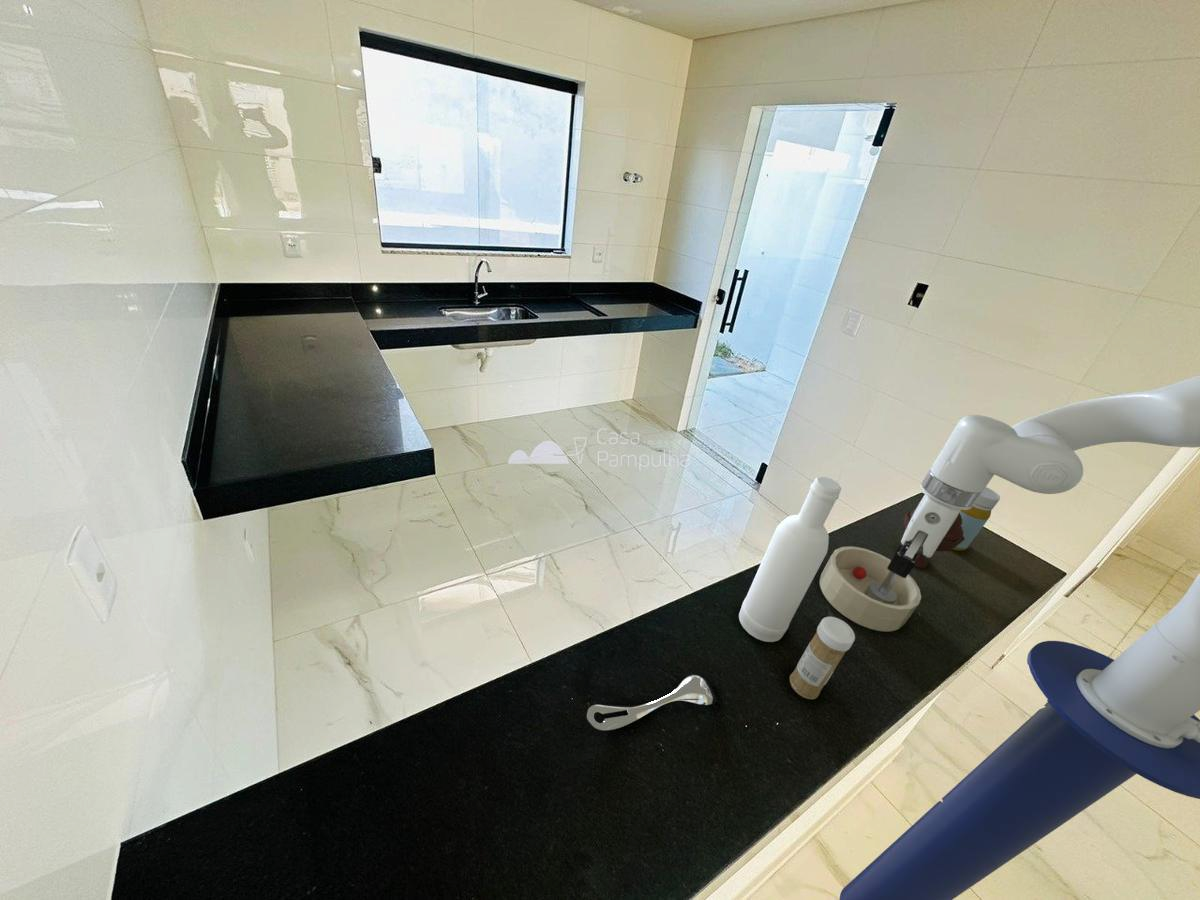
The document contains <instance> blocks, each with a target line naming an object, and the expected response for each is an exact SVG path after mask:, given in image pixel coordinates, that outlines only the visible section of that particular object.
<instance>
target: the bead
mask: <svg viewBox="0 0 1200 900" xmlns="http://www.w3.org/2000/svg"><path fill="white" fill-rule="evenodd" d="M853 575H854V576H855V577H856V578H858V579H864V578H865V577H866V575H867V572H866V570H865V569H864V568H862V567H856V568H855V569H854V570H853Z"/></svg>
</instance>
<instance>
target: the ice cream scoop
mask: <svg viewBox="0 0 1200 900" xmlns="http://www.w3.org/2000/svg"><path fill="white" fill-rule="evenodd" d="M716 696H717V695H716V694H715V692H714V690H713V688H712V686H711V685H710V683H709V681H708V680H707V679H706V678H705V677H704V676H702V674H699V673H690V674H688V675H686V676H685V677H684V678H683V680H682V681H681V682H680V683H679V684H678V686H677V687H676V688H675V689H674V690H673V691H672V692H671V693H669V694H667V695H665V696H663V697H661V698H659V699H657V700H654V701H651V702H648V703H647V702H646V703H642V704H635V705H614V704H593V705H591V706H590V707H589V708H588V709H587V711H586V715H585V719H586V721H587V723H588V724H589V725H590V726H591V727H592V728H593V729H595V730H596V731H601V732H602V731H603V732H605V731H612V730H616V729H620V728H623V727H625V726H628V725H629V724H632V723H633V722H635V721H638V720H639V719H641V718H643V717H645V716H646V715H648V714H649V713H651V712H653V711H654V710H657V709H658V708H660V707H661V706H663V705H666V704H669V703H671V702H677V701H678V702H679V701H683V702H689V703H693V704H697V705H702V706H703V705H704V706H709V705H713V704H716V703H717V697H716ZM621 712H626V713H627V714H626V715H620V716H619V715H618V716H613V717H608V718H604V719H603V721H602V722H598V721H596V719H595V714H597V713H598V714H601V715H608V714H615V713H621Z"/></svg>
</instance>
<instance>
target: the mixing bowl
mask: <svg viewBox="0 0 1200 900" xmlns="http://www.w3.org/2000/svg"><path fill="white" fill-rule="evenodd" d="M891 560H892V559H890V558H888V557H886V556H884V555H882V554H880V553H878V552H875V551H872V550H871V549H867V548H864V547H859V546H841V547H839V548H836V549H835V550H834V551H833V552H832V553H831V555H830V557H829V559H828V561H827V563H826V565H825V566H824V567H823V570H822V572H821V574H820V577H819V587H820V590H821V592H822V594H823V596H824V597H825V599H826V600H827V602H828V603H829V604H830V605H831V606H832V608H834V609H835V610H836V611H837V612H839V613H840V614H841V615H842V616H844V617H846V619H849V620H850V621H852V622H853V623H855V624H857V625H859V626H862V627H863V628H864V627H865V628H867V629H870V630H874V631H877V632H895V631H897V630H899V629H901V628H902V627H903V626H904V625H905V624H906V623H907V621H909V619H910V617H911V616H912V614H913V613H914V612H915V610H916V609H917V608H918V607H919V605H920V603H921V600H922V594H921V590H920V587H919V585H918V584H917V582H916V581H915V579H914V578H913V577H912V576H911V575H910V573H909V574H908V576H907V577H906V578H903V577H901V576H899V577H898V579H897V580H896V582H895V583H894V585H893V586H892V588H891V589H893V590H894V592H895V593H896V595H897V599H896V601H895V602H894V604H893V605H890V604H885V603H882V602H880V601H877V600H874V599H872V598H870V597H868V596H867V595H866V593H865V592H866V590H867V588H868V586H869V585H870V583H871V582H881V583H883V581H884V580H885V578H886V577H887V575H888V574H889V572H890V570H888V569H887V567H888V565H889V564H890V562H891ZM856 567H862V568H864V569H865V570H866V572H867V575H866V577H865V578H864V579H858V578H856V577H855V576H854V575H853V570H854V569H855V568H856Z"/></svg>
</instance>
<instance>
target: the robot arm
mask: <svg viewBox="0 0 1200 900" xmlns="http://www.w3.org/2000/svg"><path fill="white" fill-rule="evenodd" d="M1111 443H1144V444H1151V445H1152V444H1153V445H1158V446H1166V447H1175V448H1176V447H1177V448H1200V374H1199V375H1196V376H1192V377H1189V378H1186V379H1183V380H1181V381H1178V382H1175V383H1171V384H1168V385H1165V386H1162V387H1159V388H1155V389H1149V390H1142V391H1141V390H1140V391H1133V392H1127V393H1122V394H1115V395H1111V396H1102V397H1097V398H1091V399H1086V400H1080V401H1077V402H1073V403H1070V404H1066V405H1062V406H1060V407H1059V406H1058V407H1056V408H1053V409H1050V410H1048V411H1044V412H1042V413H1039V414H1036V415H1034V416H1031V417H1029V418H1026V419H1023V420H1021V421H1019V422H1018V423H1015V424H1013V425H1012V426H1011V425H1009V424H1007V423H1005V422H1003V421H1001V420H999V419H996V418H994V417H989V416H986V415H981V414H969V415H965V416H964V417H962V418H961V419H960V420H959V421H958V422H957V424H956V425H955V427H954V428H953V430H952V432H951V434H950V435H949V437H948V439H947V440H946V442H945V443H944V446H943V447H942V448H941V450H940V452H939V453H938V455H937V456H936V459H935V460H934V462H933V463H932V465H931V467H930V469H929V470H928V472H927V473H926V476H925V477H924V479H923V480H922V482H921V483H920V486H919V488H920V490H921V492H923V493H924V495H923V497H922V498H921V500H920V501H919V503H918V504H917V506H916V510H915V512H914V514H913V516H912V518H911V520H910V522H909V524H908V526H907V528H905V530H904V532H903V535H902V538H901V540H900V543H901V544H902V545H899V547H898V548H897V550H896V551H895V553H894V555H893V557H892V558H891V559H890V560H891V562H890V564H889V565H888V567H887V569H888V570H890V571H891V572H893V573H895V574H897V575H899V576H901V577H903V578H906V577H907V576H908V574H909V575H910V573H911V572H912V570H913V568H914V567H915V566H914V565H915V564H916V562H917V561H916V560H917V559H918V557H919V555H920V554H921V552H922V551H923V553H922V555H923V556H924V557H925V558H926V559H927V558H928V559H930V558H932V557H933V556H934V554H935V552H936V551H935V550H936V549H937V547H938V546H939V544H940V543H941V541H942V540H943V538H944V536H945V535H946V533H947V532H948V530H949V529H950V527H951V526H952V524H953V523H954V521H955V519H956V518H957V516H958V514H959V512H960V510H968V509H971V508H972V506H973V505H974V503H975V502H976V500H977V499H978V497H979V496H980V495H981V493H982V492H983V490H984V489H985V487H987V486H988V485H989V483H990V482H991V480H992V479H993V477H994V476H997V477H999V478H1000V479H1004V480H1006V481H1008V482H1009V483H1012V484H1013V485H1016V486H1018V487H1020V488H1023V489H1025V490H1028V491H1030V492H1033V493H1037V494H1043V495H1057V494H1062V493H1066V492H1068V491H1070V490H1072V489H1074V488H1075V487H1076V486H1078V484H1079V483H1080V482H1081V481H1082V478H1083V476H1084V466H1083V463H1082V460H1081V459H1080V457H1079V455H1077V453H1076V452H1075V451H1078V450H1081V449H1085V448H1089V447H1094V446H1099V445H1104V444H1111ZM906 547H909V548H908V549H907V548H906ZM905 548H906V549H905ZM1076 682H1077V685H1078V688H1079V690H1080V691H1081V693H1082V695H1083V696H1084V697H1085V699H1086V700H1087V701H1088V702H1089V703H1090V704H1091V706H1092V707H1093V708H1094V709H1096V710H1097V711H1098V712H1099V713H1100V714H1101V715H1102V716H1103V717H1105V718H1106V719H1107V720H1108V721H1110V722H1111V723H1112V724H1114V725H1115V726H1117V727H1118V728H1119V729H1121V730H1123V731H1124V732H1126V733H1128V734H1129V735H1131V736H1133V737H1135V738H1137V739H1139V740H1141V741H1143V742H1146V743H1148V744H1151V745H1154V746H1157V747H1162V748H1174V747H1176V746H1178V745H1179V744H1180V743H1182V742H1183V737H1185V738H1186V739H1193V740H1195V741H1197V742H1199V743H1200V722H1199V721H1196V720H1194V719H1193V718H1191V716H1193V715H1196V714H1197V713H1199V712H1200V573H1198V574H1197V576H1196V577H1195V579H1194V580H1193V582H1192V583H1191V585H1190V586H1189V588H1188V590H1187V591H1186V593H1185V594H1184V595H1183V596H1182V598H1181V599H1180V600H1179V601H1178V602H1177V603H1176V604H1175V606H1173V607H1172V608H1171V609H1169V611H1168V612H1167V613H1166V614H1165V615H1164V616H1162V617H1161V618H1160V619H1159V620H1158V621H1157V622H1155V624H1153V626H1151V627H1150V628H1149V629H1148V630H1147V631H1145V632H1144V633H1143V634H1141V636H1140V637H1139V638H1137V640H1136V641H1134V642H1133V643H1132V644H1131V645H1130V646H1129V647H1128V648H1126V649H1125V650H1124V651H1123V652H1121V654H1120V655H1119V656H1117V657H1116V658H1115V659H1114V661H1113V662H1112V663H1111V664H1109V665H1108V666H1107V667H1106V668H1105V669H1104V670H1103V671H1101V670H1096V669H1085V670H1083V671H1081V672H1080V673H1079V674H1078V676H1077V677H1076Z"/></svg>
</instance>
